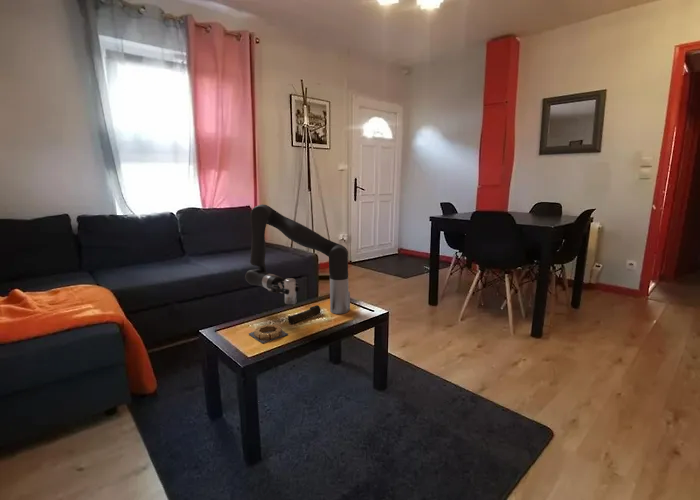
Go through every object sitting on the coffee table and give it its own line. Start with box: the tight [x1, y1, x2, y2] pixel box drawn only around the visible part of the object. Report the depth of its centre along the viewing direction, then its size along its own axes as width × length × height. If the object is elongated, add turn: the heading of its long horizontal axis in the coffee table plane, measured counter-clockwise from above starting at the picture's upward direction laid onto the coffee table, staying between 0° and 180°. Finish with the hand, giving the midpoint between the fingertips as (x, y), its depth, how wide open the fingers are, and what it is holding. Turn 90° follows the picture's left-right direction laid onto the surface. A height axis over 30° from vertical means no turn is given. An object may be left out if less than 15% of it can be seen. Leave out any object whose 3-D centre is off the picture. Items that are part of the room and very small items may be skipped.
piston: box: [284, 277, 297, 306], centre depth 159 cm, size 5×5×11 cm
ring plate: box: [248, 324, 289, 344], centre depth 155 cm, size 12×12×2 cm
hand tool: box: [287, 305, 322, 325], centre depth 173 cm, size 19×4×5 cm, turn 135°
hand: (293, 290), depth 157 cm, fingers closed on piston, 5 cm apart
